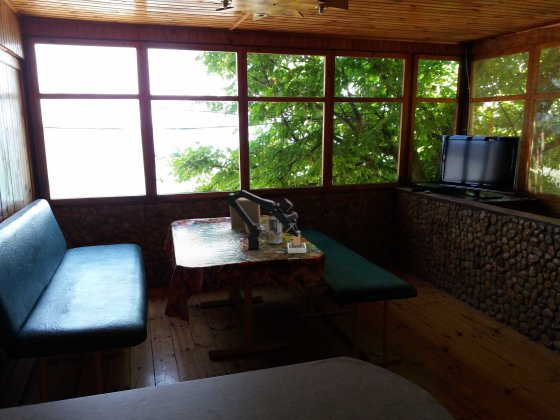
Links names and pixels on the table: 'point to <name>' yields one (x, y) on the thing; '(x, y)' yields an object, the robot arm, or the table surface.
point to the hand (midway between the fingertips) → (298, 235)
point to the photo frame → (251, 211)
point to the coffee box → (273, 231)
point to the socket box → (296, 248)
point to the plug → (296, 239)
